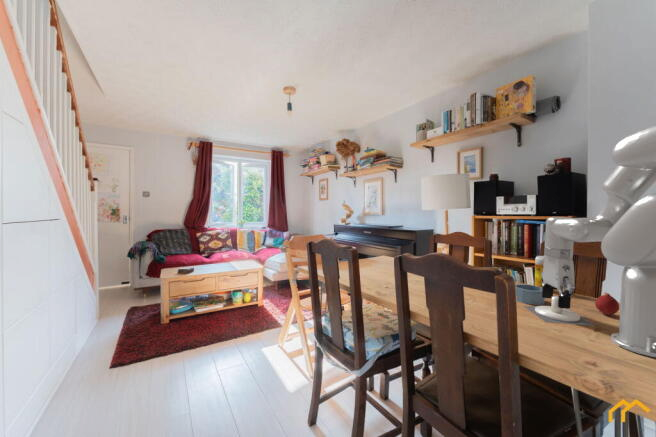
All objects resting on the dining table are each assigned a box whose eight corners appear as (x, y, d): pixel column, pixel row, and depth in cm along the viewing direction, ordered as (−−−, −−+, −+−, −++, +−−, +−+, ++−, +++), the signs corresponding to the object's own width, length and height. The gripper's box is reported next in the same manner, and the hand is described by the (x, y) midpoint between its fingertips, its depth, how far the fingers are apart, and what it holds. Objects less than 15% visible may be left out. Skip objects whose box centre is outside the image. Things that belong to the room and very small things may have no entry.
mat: (596, 327, 87) (596, 325, 87) (545, 323, 90) (545, 321, 90) (566, 309, 102) (566, 308, 102) (523, 306, 105) (523, 305, 105)
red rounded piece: (608, 312, 99) (609, 290, 99) (623, 319, 93) (624, 295, 93) (590, 312, 99) (591, 290, 99) (604, 318, 94) (605, 295, 93)
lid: (589, 323, 89) (590, 304, 89) (546, 320, 91) (547, 302, 91) (565, 310, 101) (566, 293, 100) (528, 307, 103) (528, 291, 103)
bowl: (550, 306, 105) (550, 292, 105) (520, 304, 107) (520, 290, 107) (536, 298, 115) (536, 284, 115) (509, 296, 117) (509, 283, 117)
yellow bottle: (531, 288, 129) (532, 256, 128) (540, 287, 130) (541, 255, 130) (544, 292, 123) (546, 258, 122) (554, 291, 125) (555, 257, 124)
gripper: (589, 259, 86) (585, 313, 87) (555, 249, 103) (553, 295, 104) (560, 257, 88) (557, 311, 89) (532, 248, 104) (530, 293, 106)
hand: (555, 302), depth 96 cm, fingers open, 9 cm apart
